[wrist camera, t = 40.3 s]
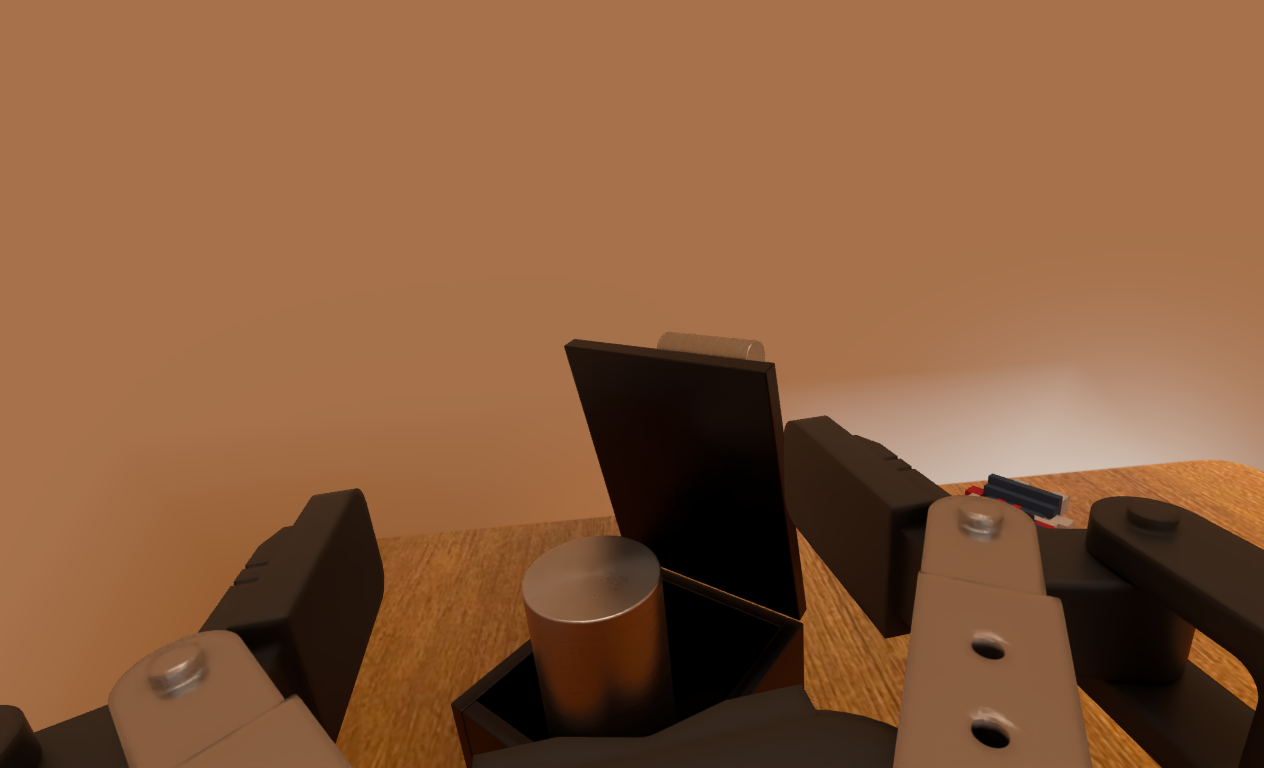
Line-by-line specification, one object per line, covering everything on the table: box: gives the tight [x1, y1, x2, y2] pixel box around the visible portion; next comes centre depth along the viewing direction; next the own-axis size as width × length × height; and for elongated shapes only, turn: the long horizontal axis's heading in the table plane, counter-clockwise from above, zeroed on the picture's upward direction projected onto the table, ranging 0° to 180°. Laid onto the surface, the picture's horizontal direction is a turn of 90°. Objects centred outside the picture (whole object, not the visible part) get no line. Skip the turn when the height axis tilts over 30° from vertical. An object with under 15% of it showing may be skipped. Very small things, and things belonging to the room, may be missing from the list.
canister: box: [522, 535, 676, 739], centre depth 27 cm, size 6×6×12 cm
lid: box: [564, 332, 806, 620], centre depth 31 cm, size 13×11×5 cm
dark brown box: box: [451, 568, 804, 768], centre depth 29 cm, size 13×11×7 cm
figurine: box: [965, 474, 1074, 529], centre depth 42 cm, size 9×4×15 cm
